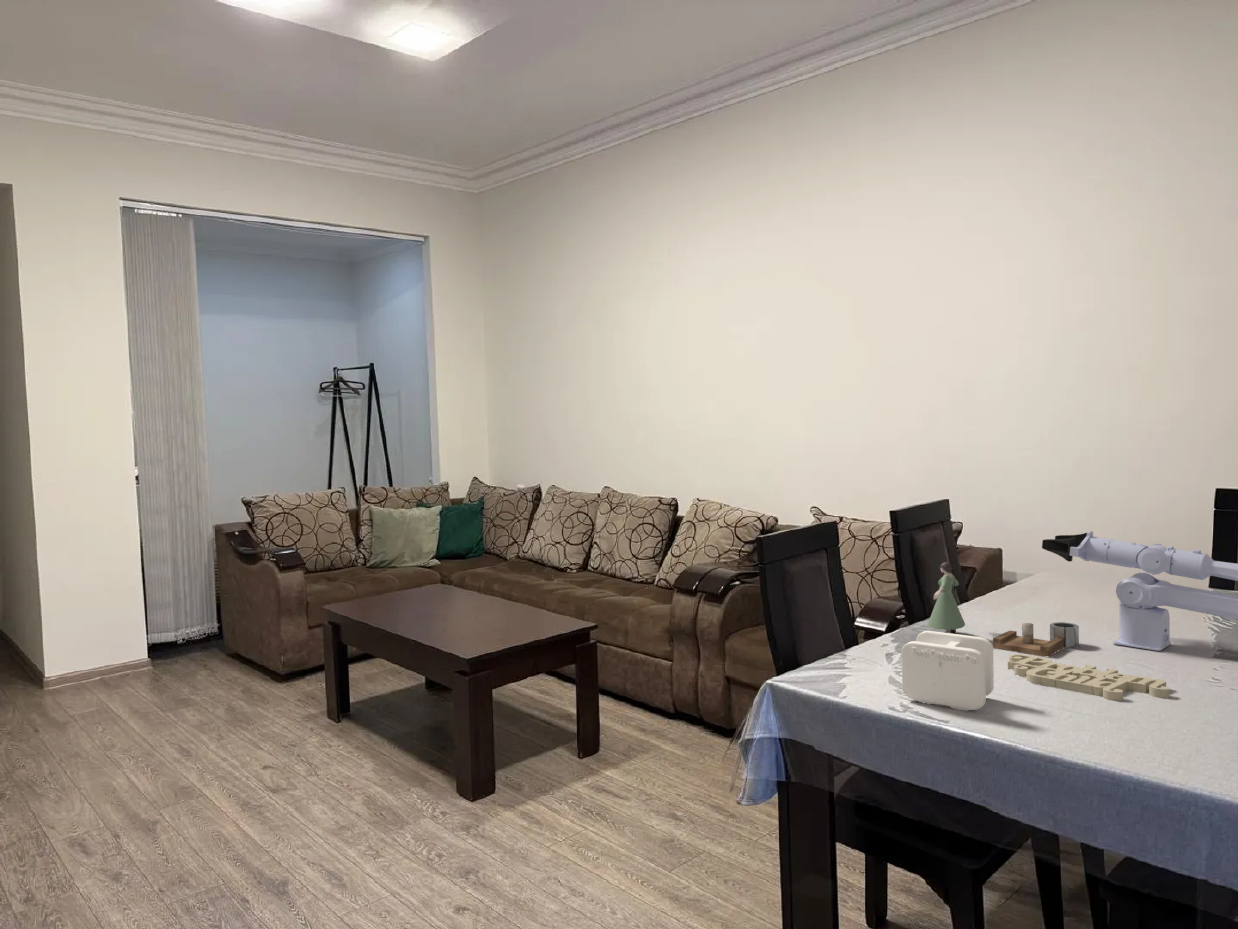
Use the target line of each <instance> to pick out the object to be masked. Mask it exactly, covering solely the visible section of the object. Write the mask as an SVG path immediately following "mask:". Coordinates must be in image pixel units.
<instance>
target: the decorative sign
mask: <svg viewBox="0 0 1238 929" xmlns="http://www.w3.org/2000/svg"><path fill="white" fill-rule="evenodd" d="M1007 669H1008V670H1010V669H1013V670H1012V671H1013V672H1014V673H1013V675H1014V676H1016V675H1019V676H1018V677H1021V676H1026V677H1025V680H1026V682H1027V681H1029V682H1031V683H1030V684H1033V683H1034V684H1033V685H1038V684H1041V685H1042V686H1044V687H1050V688H1054V687H1057V688H1056V689H1059V688H1061V690H1066V691H1070V692H1071V691H1072V692H1076V693H1083V694H1086V695H1094V696H1097V697H1098V696H1099V697H1102V698H1103V699H1105V700H1108V701H1115V702H1117V701H1118V702H1119V701H1123V700H1124V692H1125V691H1132V692H1137V693H1142V694H1147V691H1149V692H1148V694H1149V696H1152V697H1153V698H1160V699H1169V698H1170V697H1171V695H1170V694H1171V693H1170V692H1171V688H1170V687H1169V686H1167V681H1166V680H1164V679H1158V678H1152V677H1150V676H1149V677H1148V676H1140V675H1131V674H1129V675H1128V674H1126V673H1119V670H1118V669H1113V668H1106V670H1105V671H1102V670H1099V669H1097V666H1096V665H1087V664H1086V665H1085V666H1084V667H1083V668H1081V666H1076V665H1071V664H1069V665H1066V663H1061V662H1058V663H1057V662H1054V661H1052V659H1050V658H1047V657H1046V658H1045V657H1041V656H1040V657H1039V656H1034V655H1032V656H1031V655H1028V654H1027V655H1026V654H1009V655H1008V661H1007ZM1029 682H1028V683H1029Z"/></svg>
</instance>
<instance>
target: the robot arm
mask: <svg viewBox="0 0 1238 929" xmlns="http://www.w3.org/2000/svg"><path fill="white" fill-rule="evenodd" d="M1041 549H1043V550H1045V551H1047V552H1050V553H1053V554H1055V555H1058V556H1059V557H1061V558H1063V559H1064V560H1065V561H1067V562H1070V563H1071V562H1073V557H1076V558H1079V559H1081V560H1083V561H1084V562H1095V563H1100V564H1107V565H1112V566H1118V567H1123V568H1129V569H1130V568H1133V569H1139V570H1142V571H1144V572H1137V573H1134V574H1133V575H1131V576H1130V577H1127V578H1124V579H1122V580H1120V581H1119V582H1118V583H1117V584H1116V587H1115V589H1116V590H1115V594H1116V597H1117V599H1118V601H1119V604H1118V605H1119V638H1117V639H1116V640H1114V641H1113V642H1112V643H1113V645H1116V646H1123V647H1131V648H1136V649H1137V648H1138V649H1142V650H1143V649H1144V650H1151V651H1155V652H1160V651H1162V650H1164V649H1165V648H1167V647H1168V646H1170V645H1171V641H1170V639H1171V638H1170V627H1171V626H1170V623H1171V622H1170V618H1171V617H1170V613H1169V609H1167V608H1163V607H1170V608H1175V609H1181V610H1186V611H1189V612H1190V611H1191V612H1195V613H1200V614H1201V613H1202V614H1207V615H1211V616H1216V617H1222V618H1226V619H1230V620H1231V619H1233V620H1238V595H1236V594H1231V593H1225V592H1219V591H1213V590H1207V589H1203V588H1197V587H1190V586H1185V585H1179V584H1173V583H1170V582H1169V581H1167V580H1164V579H1159V578H1156V577H1155V576H1154V575H1160V574H1162V573H1166V574H1169V575H1171V576H1177V577H1183V578H1187V579H1188V578H1189V579H1193V580H1201V581H1203V580H1206V579H1207V578H1209V577H1211V576H1212V577H1217V578H1221V579H1226V580H1232V581H1236V582H1238V563H1237V562H1236V563H1234V562H1226V561H1219V560H1214V559H1213V558H1212V557H1211V556H1210V555H1209V554H1208V553H1206V552H1202V550H1201V549H1198V548H1197V549H1196V548H1194V549H1192V551H1191V550H1185V549H1179V548H1175V547H1174V546H1173V545H1172V546H1171V545H1168V546H1167V547H1166V546H1164V545H1163V544H1162V543H1155V544H1154V543H1153V544H1152V545H1150V546H1149V545H1147V544H1142V543H1135V542H1133V541H1126V540H1118V539H1113V538H1112V539H1110V538H1105V537H1098V536H1094V532H1093V531H1092V530H1089V531H1087V532H1085V533H1080V534H1078V533H1077V534H1064V535H1063V534H1060V535H1055V536H1054V539H1053V538H1049V539H1043V540H1042V542H1041Z"/></svg>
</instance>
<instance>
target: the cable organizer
mask: <svg viewBox="0 0 1238 929" xmlns="http://www.w3.org/2000/svg"><path fill="white" fill-rule="evenodd" d="M900 651H901V652H900V653H901V691H902V692H903V694H904V695H905V697H907V698H908V699H911V700H914V702H916V701H919V702H924V703H923V704H925V703H927V704H926V705H930V704H932V705H933V704H936V705H940V706H947V707H949V708H950V709H954V710H958V711H963V712H964V711H965V712H969V711H970V710H971V711H975V710H979V709H981V708H982V707H983V706H984V705H985V704H986V702H987V700H986V698H987V696H989V695H991V693H992V692H993V691H994V688H995V686H994V684H995V680H994V678H995V676H994V675H995V674H994V672H995V671H994V648H993V643H992V642H991V641H990V640H989V639H987V638H984V637H981V636H973V635H965V634H957V633H956V634H951V633H944V632H942V631H934V630H924V631H922V632H920V633H919V634H918V635H917V636H916V639H915V640H912V641H908V642H907V643H905V644H904V645H903V646H902V647H901V650H900ZM919 702H918V703H919Z"/></svg>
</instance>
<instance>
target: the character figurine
mask: <svg viewBox="0 0 1238 929" xmlns="http://www.w3.org/2000/svg"><path fill="white" fill-rule="evenodd" d="M938 568H939V569H940V571H941V573H943V574H944V575H943V576H942V577H940V579H939V580H938V581H937V582H938V585H939V589H938V590H936V592H935V593H934V594H933V600H934V601H935V600H936V601H935V604H934V607H933V609H932V612H931V615H930V617H929V619H928V622H927V626H928V627H929V628H932V629H936V630H945V631H944V632H943V633H951V634H957V630H958V629H962V628H964V627H965V626H966V623H965V621H964V617H963V615H962V614H961V611H960V609H959V606H958V604H957V601H956V599H955V597H954V594H953V593H952V590H953V592H955V590H956V592H957V593H958V594H963V593H964V590H963V587H962V586H961V585H960V584H959V581H958V580H957V579H956V576H954V574H953V573H951V571H952V564H951V563H950V562H949V561H945V562H942V563H941V565H939V567H938ZM953 585H954V586H953Z"/></svg>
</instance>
